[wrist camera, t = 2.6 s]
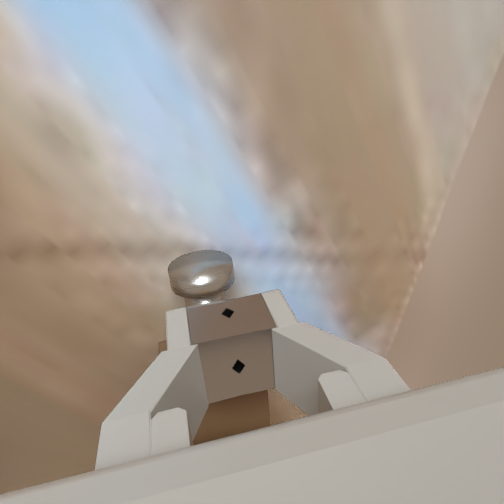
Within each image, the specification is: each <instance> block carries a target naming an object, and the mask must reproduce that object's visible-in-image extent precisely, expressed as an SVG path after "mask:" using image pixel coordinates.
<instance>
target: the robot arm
mask: <svg viewBox="0 0 504 504" xmlns="http://www.w3.org/2000/svg"><path fill="white" fill-rule="evenodd" d="M186 309H187V310H186ZM166 335H167V351H162V352H161V353H160V354H159V355H158V356H157V358H156V359H155V360H154V361H153V362H152V364H151V365H150V366H149V367H148V368H147V370H146V371H145V372H144V373H143V375H142V376H141V377H140V378H139V379H138V381H137V382H136V383H135V384H134V385H133V387H132V388H131V389H130V390H129V391H128V393H127V394H126V395H125V396H124V397H123V399H122V400H121V401H120V402H119V403H118V405H117V406H116V407H115V408H114V409H113V411H112V412H111V413H110V414H109V415H108V417H107V418H106V419H105V420H104V422H103V423H102V426H101V432H100V439H99V445H98V452H97V459H96V465H95V470H94V471H90V472H86V473H82V474H78V475H74V476H70V477H66V478H62V479H58V480H54V481H50V482H46V483H42V484H38V485H34V486H30V487H26V488H22V489H19V490H15V491H11V492H7V493H3V494H0V504H504V367H501V368H498V369H493V370H489V371H486V372H482V373H478V374H474V375H470V376H467V377H462V378H458V379H455V380H451V381H446V382H443V383H439V384H435V385H430V386H427V387H423V388H419V389H415V390H410V389H409V387H408V386H407V385H406V384H405V383H404V381H403V380H402V379H401V377H400V376H399V375H398V374H397V372H396V371H395V370H394V368H393V367H392V366H391V365H390V363H389V362H388V361H387V360H386V358H384V357H382V356H380V355H377V354H375V353H373V352H371V351H368V350H366V349H364V348H362V347H359V346H357V345H355V344H353V343H350V342H348V341H346V340H344V339H341V338H339V337H337V336H335V335H332V334H330V333H328V332H326V331H323V330H321V329H319V328H317V327H314V326H312V325H310V324H308V323H305V322H301V323H299V322H298V321H297V319H296V317H295V315H294V314H293V312H292V310H291V308H290V307H289V305H288V303H287V302H286V300H285V298H284V296H283V295H282V293H281V291H280V290H278V289H276V290H272V291H267V292H263V293H259V294H255V295H250V296H246V297H241V298H236V299H232V300H227V301H218V302H213V303H207V304H201V305H195V306H189V307H186V308H185V307H183V308H178V309H173V310H168V311H166ZM273 388H275V389H276V390H277V391H278V392H279V393H280V394H282V395H283V396H284V397H285V398H287V399H288V400H289V401H291V402H292V403H293V404H294V405H296V406H297V407H298V408H299V409H301V410H302V411H303V412H304V413H306V414H307V415H308V416H307V417H303V418H299V419H296V420H292V421H288V422H284V423H280V424H276V425H272V426H268V427H264V428H260V429H256V430H252V431H248V432H244V433H241V434H237V435H233V436H229V437H225V438H221V439H217V440H213V441H209V442H205V443H201V444H197V445H193V440H194V437H195V435H196V433H197V431H198V428H199V426H200V424H201V422H202V420H203V417H204V415H205V413H206V411H207V409H208V406H209V405H208V404H210V403H213V402H217V401H221V400H225V399H229V398H232V397H236V396H240V395H244V394H249V393H254V392H259V391H264V390H268V389H273Z"/></svg>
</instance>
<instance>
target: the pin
mask: <svg viewBox="0 0 504 504" xmlns="http://www.w3.org/2000/svg"><path fill="white" fill-rule="evenodd" d="M168 273H169V278H170V283H171V288H172V290H173V292H174V293H175V294H177V295H179V296H181V297H185V302H186V307H189V306H195V305H201V304H207V303H213V302H218V301H226V297H225V290H227V289H228V288H229V287H230V286H231V285H232V284H233V282H234V272H233V263H232V258H231V257H230V256H229V255H228V254H226V253H224V252H220V251H215V250H201V251H195V252H191V253H187V254H184V255H182V256H180V257H178V258H176V259H175V260H173V261H172V262H171V263H170V265H169V267H168Z"/></svg>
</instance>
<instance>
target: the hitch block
mask: <svg viewBox="0 0 504 504" xmlns="http://www.w3.org/2000/svg"><path fill="white" fill-rule="evenodd" d="M162 351H167V341H163V342H159V354H160V353H161V352H162ZM208 405H209V406H208V409H207V411H206V413H205V415H204V417H203V420H202V422H201V424H200V426H199V428H198V431H197V433H196V435H195V437H194V440H193V445H197V444H201V443H205V442H209V441H213V440H217V439H221V438H225V437H229V436H233V435H237V434H241V433H244V432H248V431H252V430H256V429H260V428H264V427H268V426H270V420H269V407H268V394H267V390H264V391H259V392H254V393H249V394H244V395H240V396H236V397H232V398H229V399H225V400H221V401H217V402H213V403H210V404H208Z"/></svg>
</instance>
